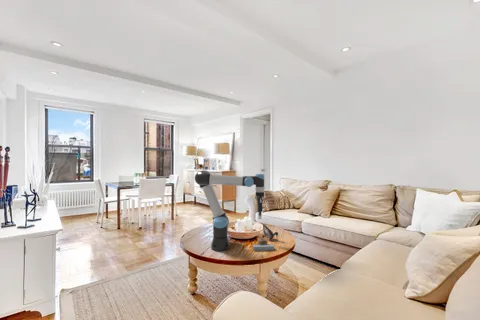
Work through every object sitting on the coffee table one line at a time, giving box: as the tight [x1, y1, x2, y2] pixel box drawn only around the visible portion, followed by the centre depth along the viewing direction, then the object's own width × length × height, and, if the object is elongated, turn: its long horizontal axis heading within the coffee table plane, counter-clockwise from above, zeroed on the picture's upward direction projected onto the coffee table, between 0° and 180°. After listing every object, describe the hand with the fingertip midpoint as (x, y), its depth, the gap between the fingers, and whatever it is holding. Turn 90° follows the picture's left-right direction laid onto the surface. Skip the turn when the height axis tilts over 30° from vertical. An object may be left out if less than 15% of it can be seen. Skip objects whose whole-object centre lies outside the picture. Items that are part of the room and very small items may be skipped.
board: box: [252, 243, 275, 252], centre depth 186 cm, size 16×5×3 cm, turn 94°
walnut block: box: [257, 237, 268, 245], centre depth 192 cm, size 7×7×6 cm
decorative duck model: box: [261, 224, 279, 240], centre depth 210 cm, size 15×8×15 cm, turn 52°
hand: (259, 218), depth 203 cm, fingers closed
